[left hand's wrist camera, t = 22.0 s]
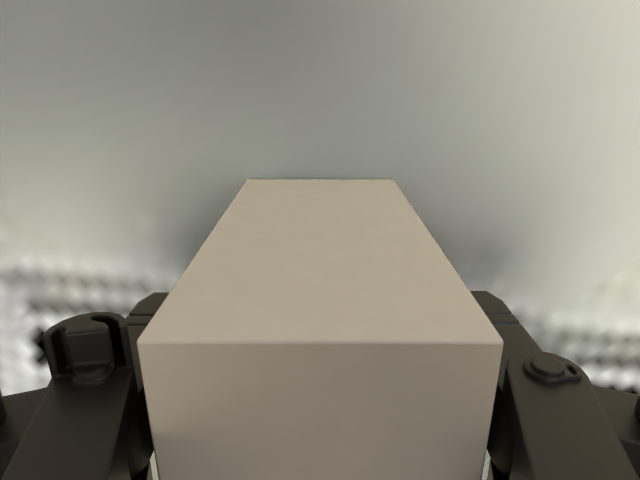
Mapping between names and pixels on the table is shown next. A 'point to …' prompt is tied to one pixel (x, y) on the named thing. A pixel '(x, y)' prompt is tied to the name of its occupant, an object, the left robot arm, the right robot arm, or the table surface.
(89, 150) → the table surface
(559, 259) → the table surface
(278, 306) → the brick
